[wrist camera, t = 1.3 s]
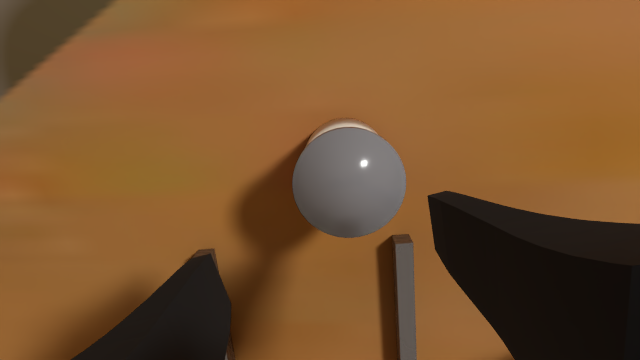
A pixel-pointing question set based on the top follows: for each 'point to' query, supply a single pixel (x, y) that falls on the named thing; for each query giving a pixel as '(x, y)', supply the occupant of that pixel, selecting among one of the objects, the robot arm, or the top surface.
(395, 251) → the lane
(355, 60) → the top surface
